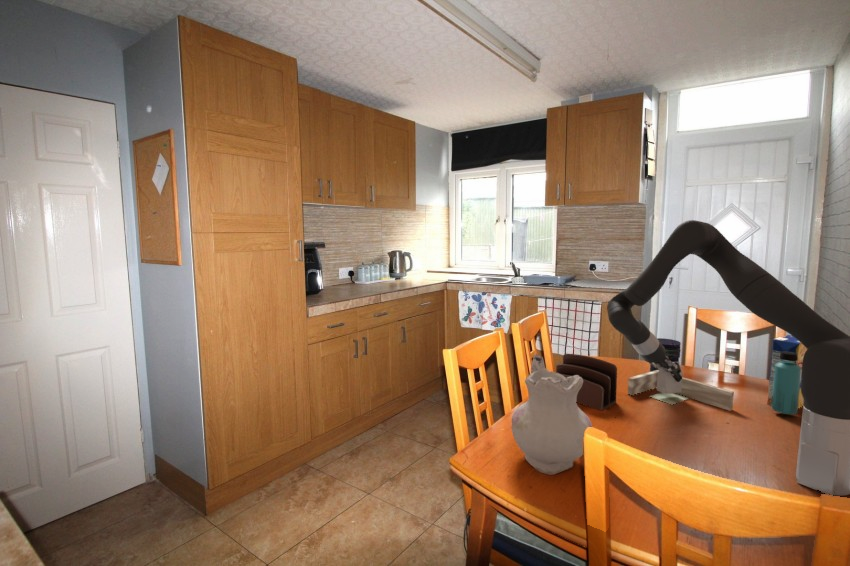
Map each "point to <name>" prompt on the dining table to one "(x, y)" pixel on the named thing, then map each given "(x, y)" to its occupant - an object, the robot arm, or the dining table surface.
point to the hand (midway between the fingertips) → (674, 377)
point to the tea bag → (668, 382)
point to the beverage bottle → (786, 384)
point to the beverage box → (788, 345)
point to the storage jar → (669, 350)
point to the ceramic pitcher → (550, 420)
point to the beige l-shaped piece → (683, 391)
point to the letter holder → (591, 379)
